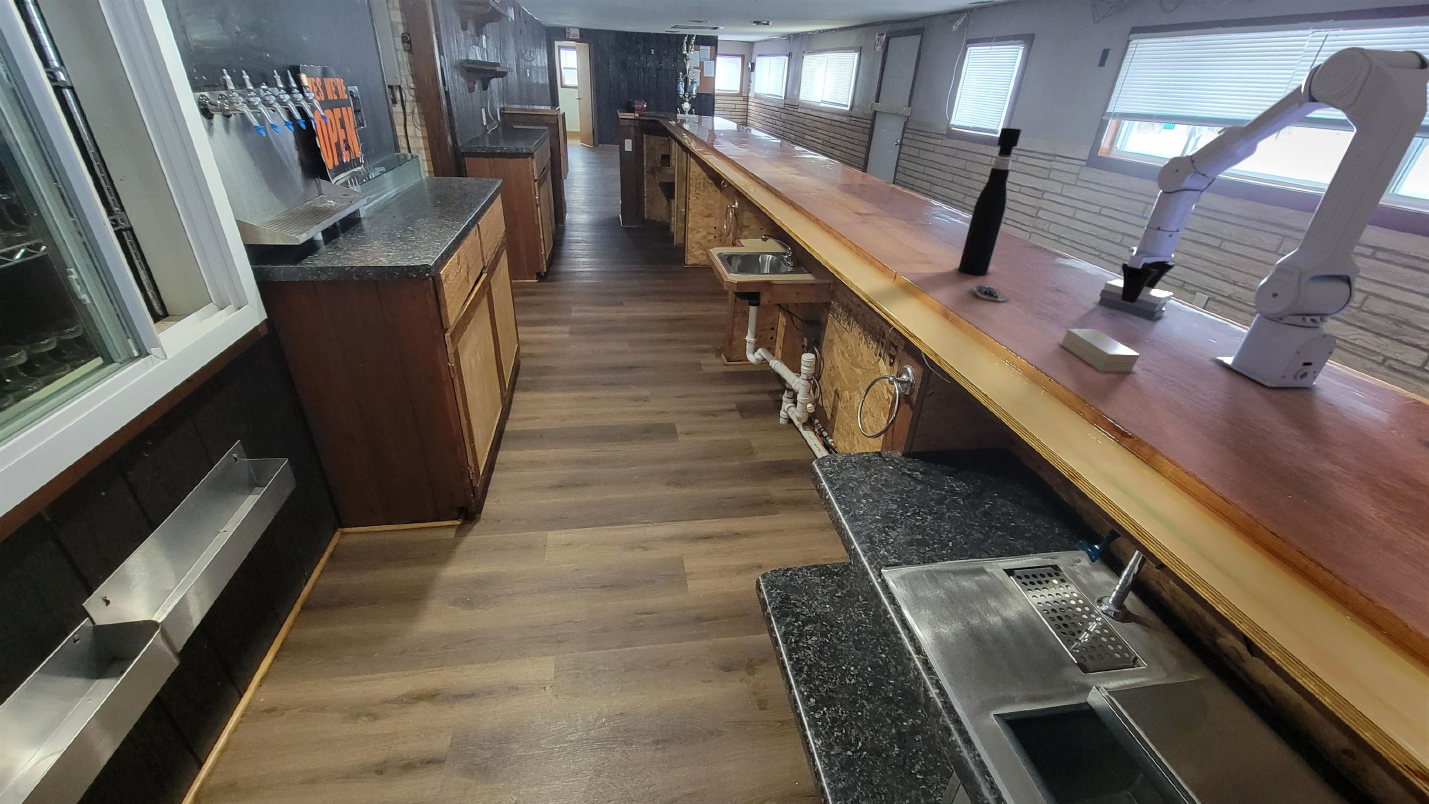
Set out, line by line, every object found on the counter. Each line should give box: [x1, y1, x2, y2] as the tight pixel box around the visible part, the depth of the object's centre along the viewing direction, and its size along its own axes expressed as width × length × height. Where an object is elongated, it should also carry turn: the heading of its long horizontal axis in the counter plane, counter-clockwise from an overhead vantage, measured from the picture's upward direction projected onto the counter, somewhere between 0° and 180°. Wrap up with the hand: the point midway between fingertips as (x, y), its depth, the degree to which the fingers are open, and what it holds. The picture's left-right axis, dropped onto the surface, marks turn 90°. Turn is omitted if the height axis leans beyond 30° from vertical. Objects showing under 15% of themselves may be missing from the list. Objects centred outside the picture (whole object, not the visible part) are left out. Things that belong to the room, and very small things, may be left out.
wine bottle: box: [958, 127, 1023, 276], centre depth 124 cm, size 6×6×30 cm
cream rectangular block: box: [1060, 328, 1140, 372], centre depth 90 cm, size 10×5×3 cm, turn 5°
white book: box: [1102, 278, 1174, 304], centre depth 110 cm, size 10×5×1 cm, turn 35°
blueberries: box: [970, 284, 1007, 302], centre depth 116 cm, size 7×8×2 cm
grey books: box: [1097, 288, 1167, 321], centre depth 111 cm, size 10×4×3 cm, turn 35°
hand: (1134, 299), depth 110 cm, fingers closed on white book, 5 cm apart
